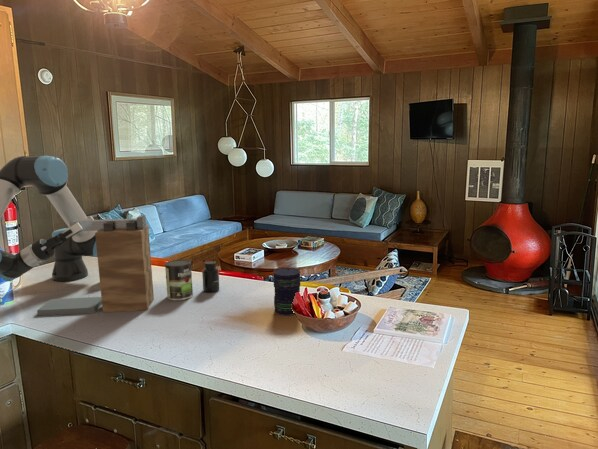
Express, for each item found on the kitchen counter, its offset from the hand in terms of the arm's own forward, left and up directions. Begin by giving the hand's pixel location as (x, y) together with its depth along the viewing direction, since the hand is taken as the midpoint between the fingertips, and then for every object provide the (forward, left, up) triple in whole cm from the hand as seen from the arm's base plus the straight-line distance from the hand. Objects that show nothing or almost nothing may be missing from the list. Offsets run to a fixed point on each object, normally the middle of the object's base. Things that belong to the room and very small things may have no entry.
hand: (87, 222), depth 170 cm
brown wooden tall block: (0, +12, -33) cm, 35 cm away
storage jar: (+14, +72, -33) cm, 81 cm away
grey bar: (0, +6, -3) cm, 7 cm away
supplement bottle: (-14, +42, -33) cm, 56 cm away
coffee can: (-8, +30, -33) cm, 46 cm away
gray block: (0, -9, -33) cm, 34 cm away
